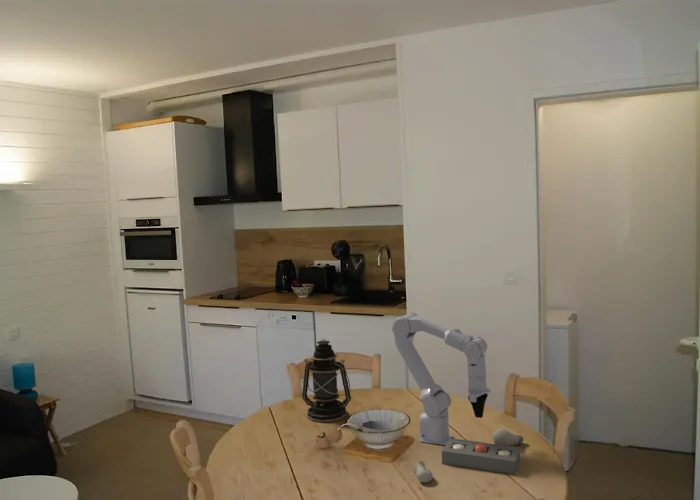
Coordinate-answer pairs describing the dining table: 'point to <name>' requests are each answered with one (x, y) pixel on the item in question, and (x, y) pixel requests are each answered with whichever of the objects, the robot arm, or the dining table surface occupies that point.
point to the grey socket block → (481, 456)
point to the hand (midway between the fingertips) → (479, 416)
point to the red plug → (481, 448)
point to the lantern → (325, 385)
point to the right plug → (504, 452)
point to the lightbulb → (506, 437)
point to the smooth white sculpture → (422, 472)
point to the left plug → (458, 446)
